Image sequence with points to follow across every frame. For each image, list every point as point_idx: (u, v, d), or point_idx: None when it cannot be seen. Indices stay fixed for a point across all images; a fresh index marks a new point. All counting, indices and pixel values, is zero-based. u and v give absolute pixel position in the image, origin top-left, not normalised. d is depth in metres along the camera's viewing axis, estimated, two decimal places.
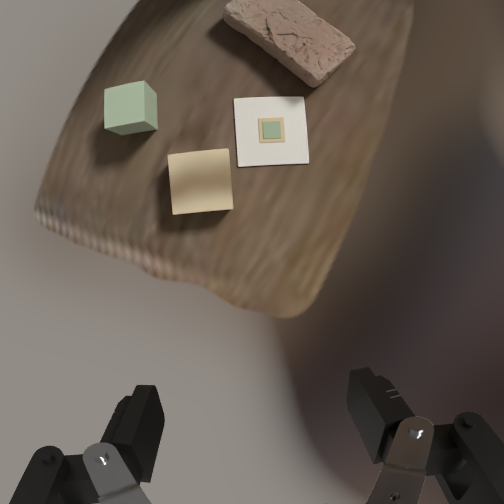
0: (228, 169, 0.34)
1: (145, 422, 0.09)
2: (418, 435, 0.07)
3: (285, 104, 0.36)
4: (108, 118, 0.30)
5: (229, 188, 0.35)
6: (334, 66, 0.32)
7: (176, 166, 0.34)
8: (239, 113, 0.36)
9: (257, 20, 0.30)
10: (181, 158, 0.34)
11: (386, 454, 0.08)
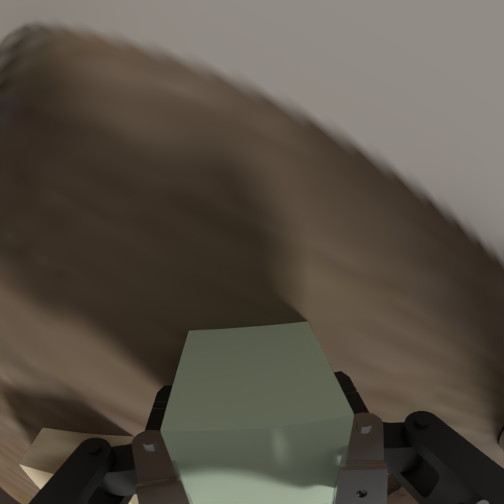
0: None
1: None
2: (365, 431, 0.08)
3: None
4: (206, 444, 0.07)
5: None
6: None
7: None
8: None
9: None
10: None
11: None
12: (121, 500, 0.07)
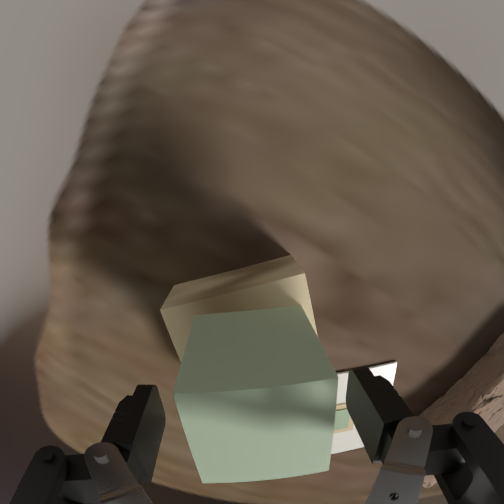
0: None
1: (146, 422, 0.09)
2: (417, 435, 0.07)
3: None
4: (212, 405, 0.09)
5: None
6: None
7: (278, 300, 0.14)
8: None
9: None
10: None
11: (385, 454, 0.08)
12: None
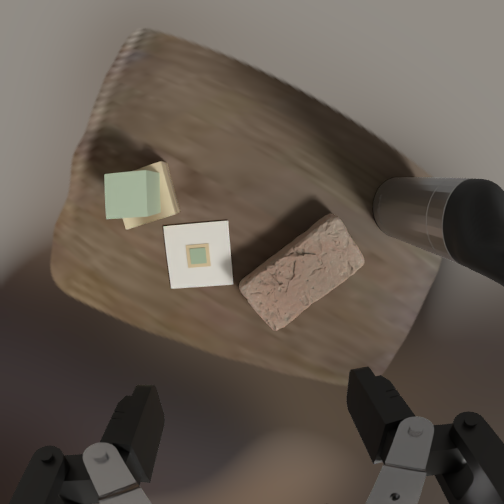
0: (157, 218, 0.38)
1: (145, 422, 0.09)
2: (418, 435, 0.07)
3: (224, 267, 0.43)
4: (113, 178, 0.31)
5: (141, 223, 0.38)
6: (252, 306, 0.40)
7: None
8: (213, 225, 0.42)
9: (314, 245, 0.40)
10: None
11: (386, 455, 0.08)
12: None
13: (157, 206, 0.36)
